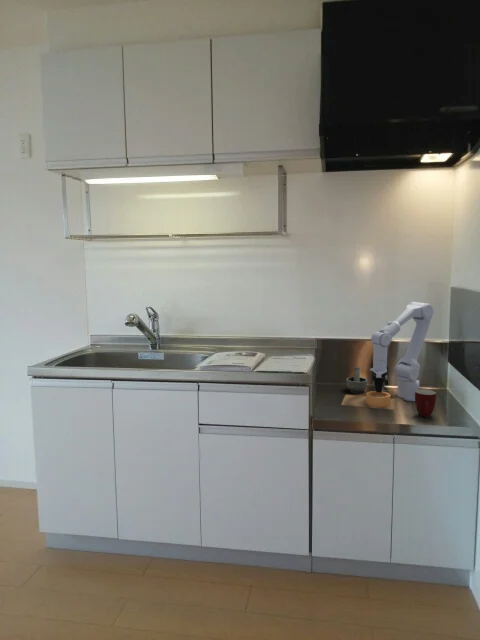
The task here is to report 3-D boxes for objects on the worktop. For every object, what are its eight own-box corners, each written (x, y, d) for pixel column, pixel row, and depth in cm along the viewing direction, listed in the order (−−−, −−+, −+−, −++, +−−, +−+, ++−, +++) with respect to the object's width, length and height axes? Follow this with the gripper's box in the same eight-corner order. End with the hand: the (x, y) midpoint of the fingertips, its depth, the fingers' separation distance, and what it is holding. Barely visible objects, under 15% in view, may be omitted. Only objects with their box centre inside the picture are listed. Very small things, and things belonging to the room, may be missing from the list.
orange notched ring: (390, 400, 221) (391, 392, 220) (389, 407, 211) (390, 398, 211) (367, 398, 224) (367, 390, 223) (365, 405, 214) (365, 396, 214)
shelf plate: (395, 401, 224) (396, 391, 223) (394, 412, 209) (394, 401, 208) (345, 397, 231) (345, 387, 230) (340, 407, 216) (341, 396, 215)
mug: (439, 421, 198) (440, 396, 196) (418, 421, 198) (419, 396, 197) (432, 412, 208) (433, 389, 207) (412, 412, 209) (413, 389, 207)
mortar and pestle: (367, 397, 230) (367, 371, 229) (346, 396, 232) (346, 370, 231) (366, 390, 241) (367, 366, 240) (346, 389, 243) (346, 365, 242)
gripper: (371, 355, 227) (371, 384, 229) (369, 362, 213) (368, 393, 215) (388, 356, 224) (387, 386, 226) (386, 363, 211) (385, 395, 213)
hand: (379, 389), depth 220 cm, fingers open, 7 cm apart
